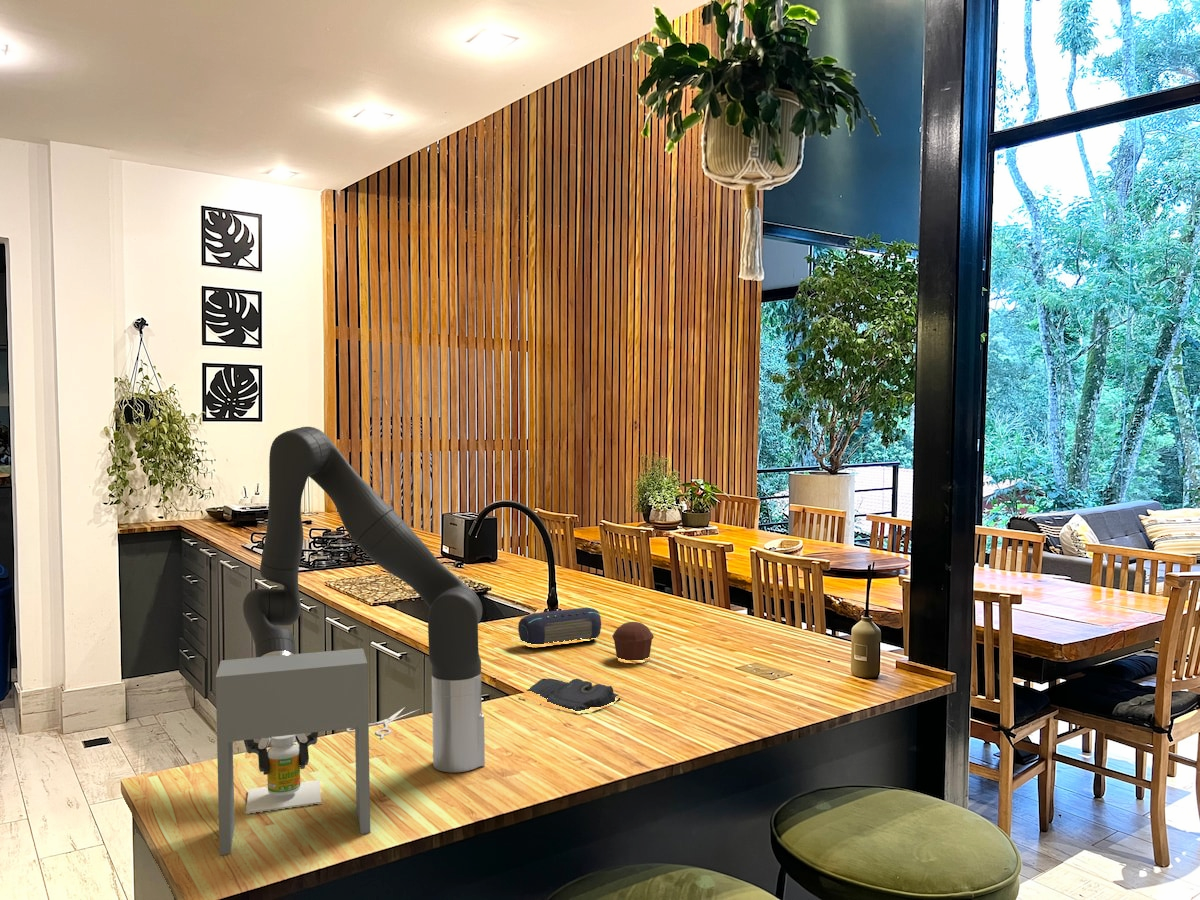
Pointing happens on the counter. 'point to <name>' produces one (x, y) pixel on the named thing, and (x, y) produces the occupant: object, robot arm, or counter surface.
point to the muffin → (633, 641)
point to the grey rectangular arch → (290, 713)
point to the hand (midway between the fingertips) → (284, 769)
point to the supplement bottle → (283, 766)
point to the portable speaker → (560, 626)
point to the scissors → (385, 724)
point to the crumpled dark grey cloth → (574, 693)
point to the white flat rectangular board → (283, 798)
